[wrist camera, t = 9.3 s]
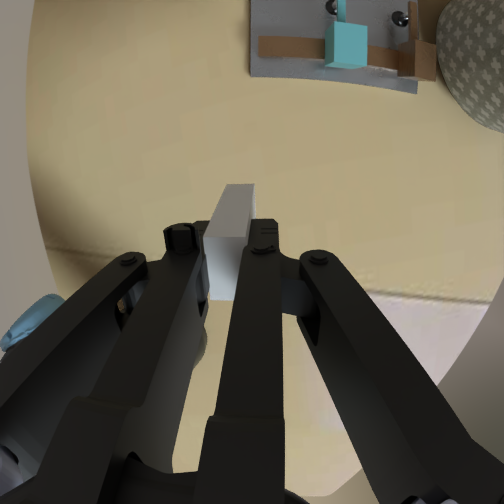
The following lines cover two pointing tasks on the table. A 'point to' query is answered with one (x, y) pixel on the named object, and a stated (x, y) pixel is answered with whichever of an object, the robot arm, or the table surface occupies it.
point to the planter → (474, 57)
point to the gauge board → (316, 27)
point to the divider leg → (345, 41)
